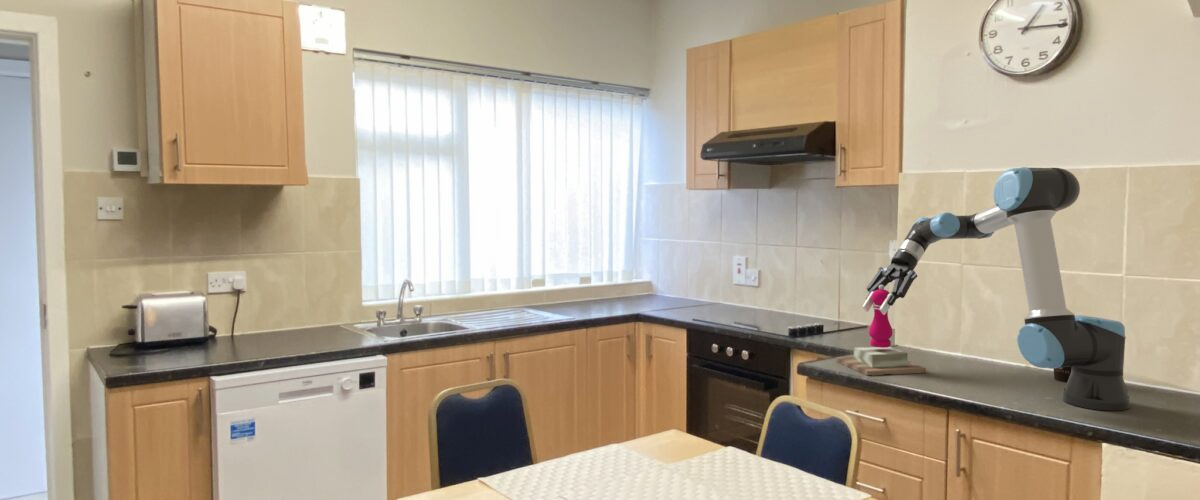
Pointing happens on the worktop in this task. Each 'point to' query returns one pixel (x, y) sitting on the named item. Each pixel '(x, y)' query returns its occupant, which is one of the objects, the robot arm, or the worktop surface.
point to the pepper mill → (880, 321)
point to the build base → (881, 369)
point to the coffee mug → (1062, 374)
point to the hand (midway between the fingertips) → (873, 310)
